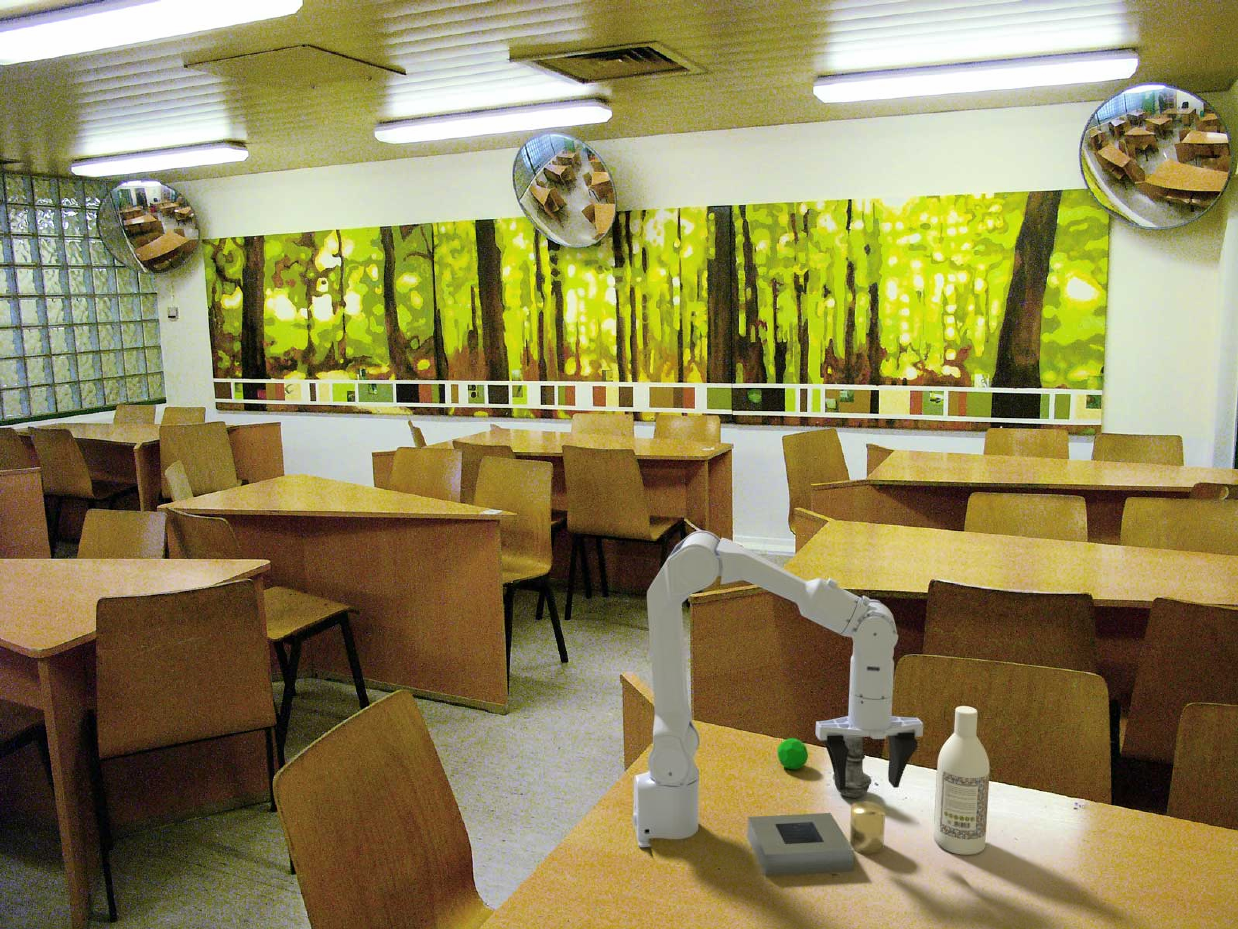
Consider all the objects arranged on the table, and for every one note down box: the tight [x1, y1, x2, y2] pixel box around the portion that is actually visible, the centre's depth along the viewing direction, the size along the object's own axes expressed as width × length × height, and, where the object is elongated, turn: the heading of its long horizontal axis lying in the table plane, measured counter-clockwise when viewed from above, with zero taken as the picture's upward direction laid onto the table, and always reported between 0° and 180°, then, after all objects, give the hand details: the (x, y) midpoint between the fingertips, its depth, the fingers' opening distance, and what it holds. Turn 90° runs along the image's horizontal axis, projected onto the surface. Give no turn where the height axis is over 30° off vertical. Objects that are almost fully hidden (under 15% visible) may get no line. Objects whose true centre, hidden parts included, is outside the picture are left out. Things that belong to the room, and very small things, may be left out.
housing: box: [747, 812, 855, 877], centre depth 136 cm, size 12×10×4 cm
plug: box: [849, 800, 886, 856], centre depth 137 cm, size 5×5×6 cm
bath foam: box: [933, 705, 991, 856], centre depth 139 cm, size 7×7×20 cm
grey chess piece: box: [832, 737, 872, 799], centre depth 152 cm, size 6×6×12 cm
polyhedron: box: [776, 737, 809, 770], centre depth 164 cm, size 5×5×5 cm
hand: (866, 785), depth 137 cm, fingers open, 7 cm apart
